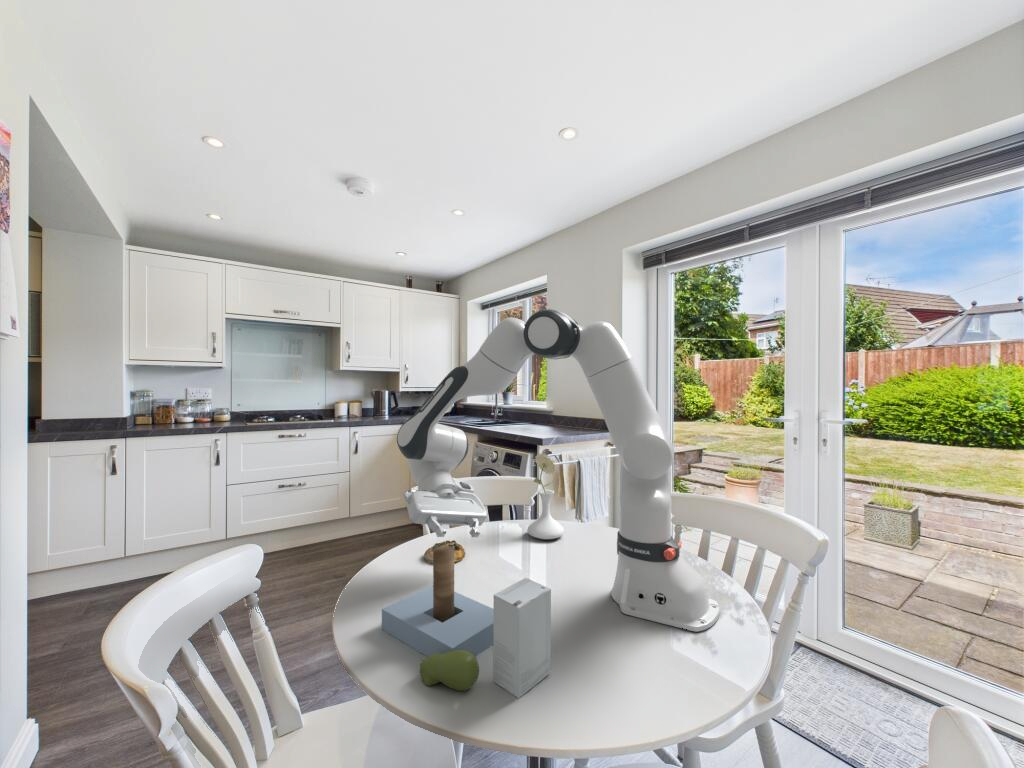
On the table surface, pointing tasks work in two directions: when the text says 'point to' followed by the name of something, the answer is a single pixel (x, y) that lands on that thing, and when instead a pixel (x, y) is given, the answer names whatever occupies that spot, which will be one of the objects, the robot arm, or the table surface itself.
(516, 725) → the table surface
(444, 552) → the peg
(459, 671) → the pear
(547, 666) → the skincare box
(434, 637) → the socket board
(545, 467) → the flower in vase
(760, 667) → the table surface
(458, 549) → the bread roll
